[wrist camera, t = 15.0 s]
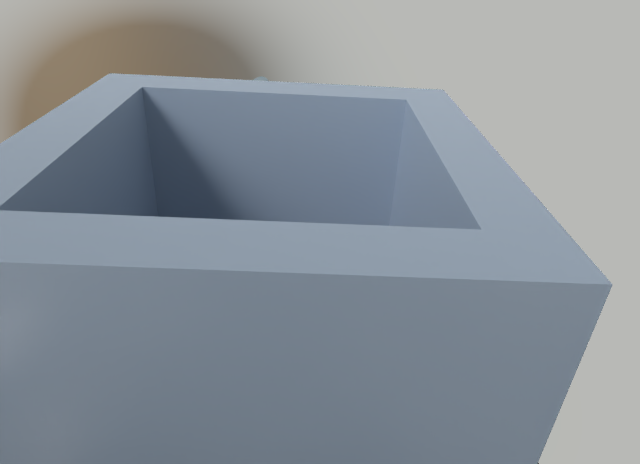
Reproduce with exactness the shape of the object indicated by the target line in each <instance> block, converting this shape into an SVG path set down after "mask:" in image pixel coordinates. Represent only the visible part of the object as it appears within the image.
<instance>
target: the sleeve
mask: <svg viewBox="0 0 640 464" xmlns="http://www.w3.org/2000/svg"><path fill="white" fill-rule="evenodd" d="M611 287H612V284H611V282H610V281H609V280H608V279H607V278H606V277H605V275H604V274H603V273H602V272H601V271H600V270H599V269H598V267H597V266H596V265H595V264H594V263H593V262H592V260H591V259H590V258H589V257H588V256H587V255H586V254H585V252H584V251H583V250H582V249H581V248H580V247H579V245H578V244H577V243H576V242H575V241H574V240H573V239H572V238H571V236H570V235H569V234H568V233H567V232H566V230H564V228H563V227H562V226H561V225H560V224H559V223H558V221H557V220H556V219H555V218H554V217H553V215H552V214H551V213H550V212H549V211H548V210H547V209H546V207H545V206H544V205H543V204H542V203H541V202H540V201H539V199H538V198H537V197H536V196H535V195H534V194H533V193H532V192H531V190H530V189H529V188H528V187H527V186H526V185H525V183H524V182H523V181H522V180H521V179H520V177H519V176H518V175H517V174H516V173H515V172H514V171H513V169H512V168H511V167H510V166H509V165H508V164H507V163H506V161H505V160H504V159H503V158H502V157H501V156H500V154H499V153H498V152H497V151H496V150H495V149H494V147H493V146H492V145H491V144H490V143H489V142H488V141H487V140H486V138H485V137H484V136H483V135H482V134H481V133H480V131H479V130H478V129H477V128H476V127H475V126H474V124H473V123H472V122H471V121H470V120H469V119H468V118H467V116H465V114H464V113H463V112H462V111H461V109H460V108H459V107H458V106H457V105H456V104H455V103H454V101H453V100H452V99H451V98H450V97H449V96H448V94H447V93H446V92H445V91H444V90H437V89H416V88H396V87H376V86H356V85H335V84H315V83H295V82H275V81H255V80H234V79H214V78H213V79H212V78H193V77H173V76H172V77H171V76H153V75H132V74H112V73H110V74H108V75H106V76H105V77H103V78H102V79H100V80H99V81H97V82H96V83H94V84H93V85H91V86H89V87H88V88H86V89H85V90H83V91H81V92H80V93H78V94H77V95H75V96H74V97H72V98H71V99H69V100H67V101H66V102H64V103H63V104H61V105H60V106H58V107H57V108H55V109H53V110H52V111H50V112H49V113H48V114H46V115H44V116H43V117H41V118H39V119H38V120H36V121H35V122H33V123H32V124H30V125H29V126H27V127H25V128H24V129H22V130H21V131H20V132H18V133H16V134H14V135H13V136H12V137H10V138H8V139H7V140H5V141H4V142H2V143H1V144H0V464H537V463H538V461H539V458H540V456H541V454H542V451H543V448H544V446H545V444H546V442H547V439H548V437H549V434H550V432H551V430H552V427H553V425H554V423H555V420H556V418H557V415H558V413H559V411H560V408H561V406H562V404H563V401H564V399H565V396H566V394H567V392H568V389H569V387H570V385H571V382H572V380H573V377H574V375H575V372H576V370H577V368H578V366H579V363H580V361H581V358H582V356H583V354H584V351H585V349H586V347H587V344H588V342H589V339H590V337H591V334H592V332H593V330H594V328H595V325H596V323H597V320H598V318H599V316H600V313H601V311H602V308H603V306H604V304H605V301H606V299H607V297H608V294H609V292H610V289H611Z"/></svg>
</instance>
